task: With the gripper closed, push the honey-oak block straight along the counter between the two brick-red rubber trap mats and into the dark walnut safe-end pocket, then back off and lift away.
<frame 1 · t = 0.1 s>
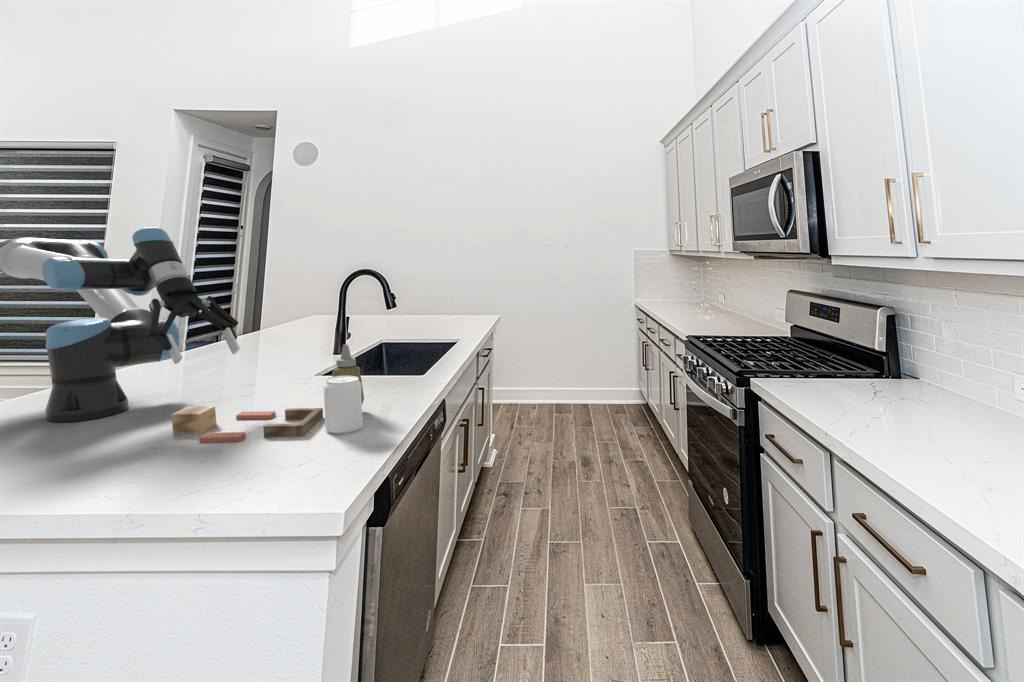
hand: (209, 356, 110), 15 cm above the countertop, tool tilted 35°, fingers open, 13 cm apart
squeeze bottle: (348, 414, 115), on the countertop
oak block: (195, 428, 103), on the countertop
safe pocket: (295, 421, 105), on the countertop
trap mats: (240, 427, 104), on the countertop
beverage can: (344, 429, 104), on the countertop
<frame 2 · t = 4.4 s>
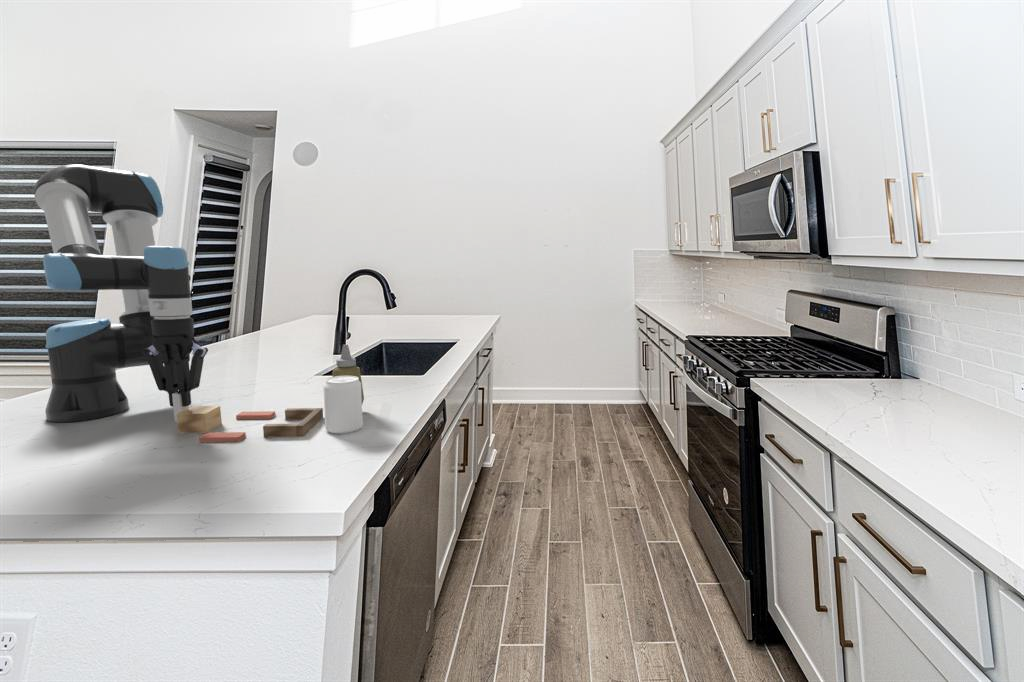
hand: (182, 419, 102), 2 cm above the countertop, tool pointing down, fingers closed
oak block: (200, 428, 103), on the countertop, touching gripper
everything else where it was.
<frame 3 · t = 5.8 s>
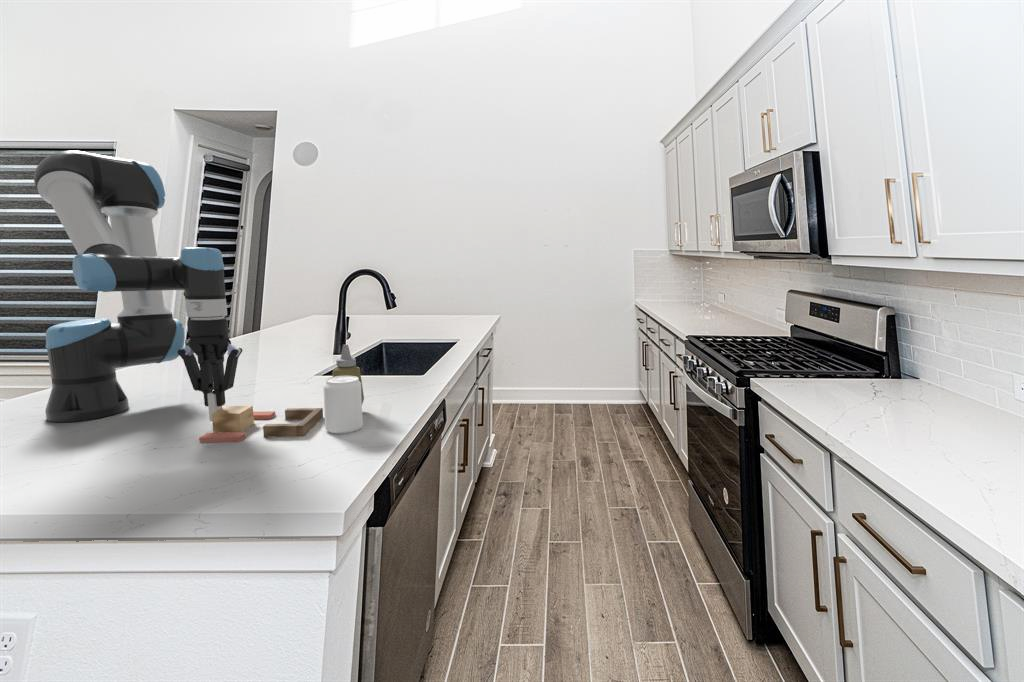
hand: (216, 419, 103), 2 cm above the countertop, tool pointing down, fingers closed
oak block: (234, 428, 104), on the countertop
everything else where it was.
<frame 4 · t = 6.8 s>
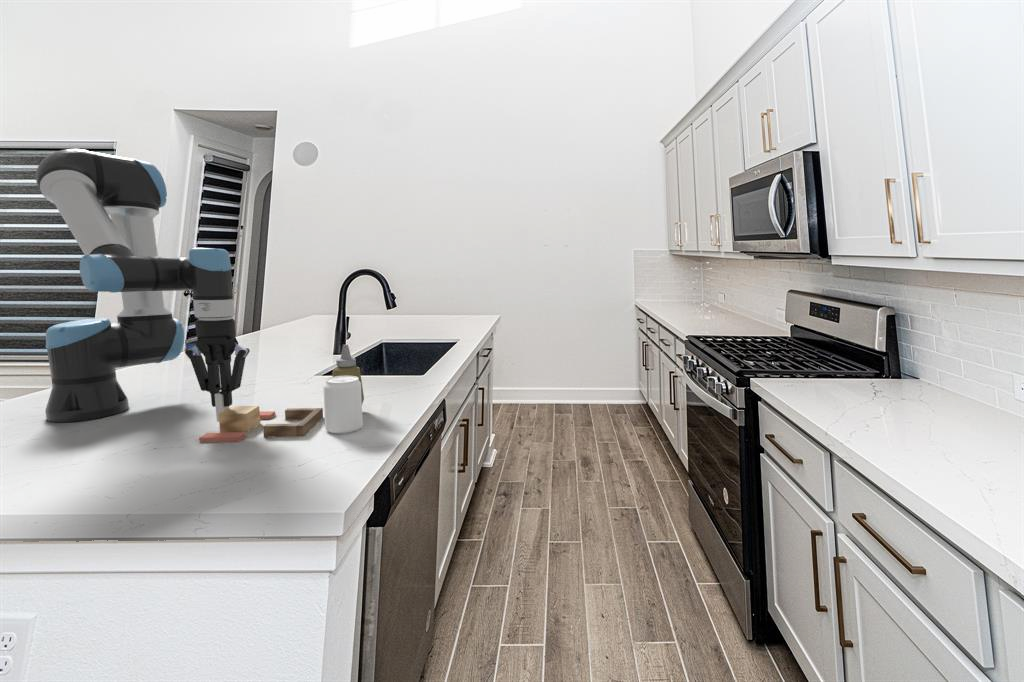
hand: (223, 419, 103), 2 cm above the countertop, tool pointing down, fingers closed
oak block: (240, 428, 104), on the countertop, touching gripper
everything else where it was.
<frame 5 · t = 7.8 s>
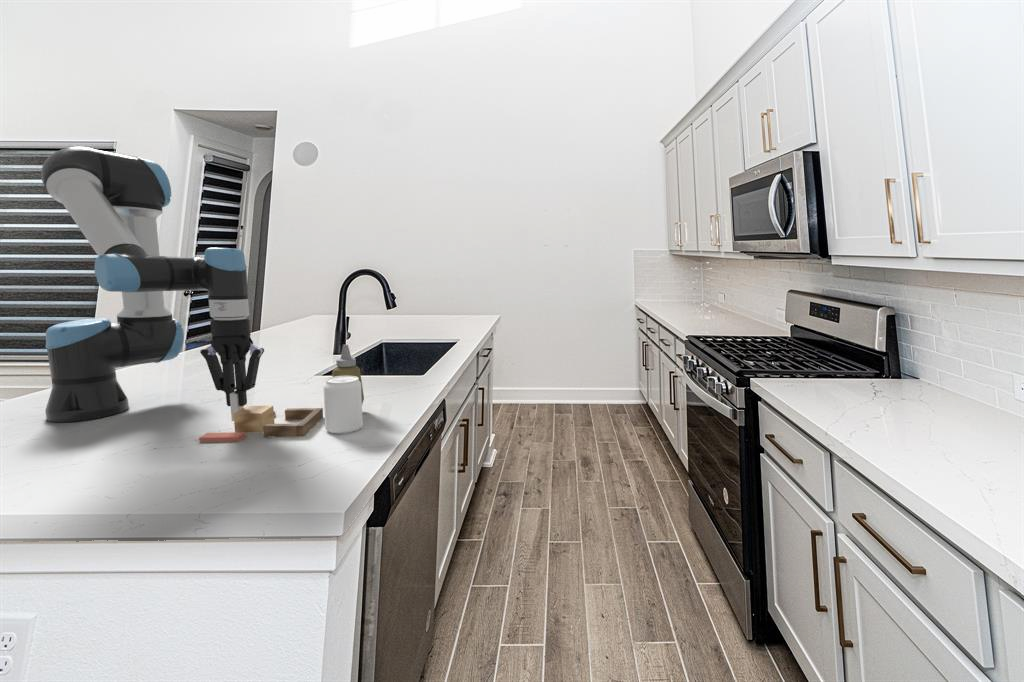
hand: (238, 419, 103), 2 cm above the countertop, tool pointing down, fingers closed
oak block: (255, 428, 104), on the countertop, touching gripper
everything else where it was.
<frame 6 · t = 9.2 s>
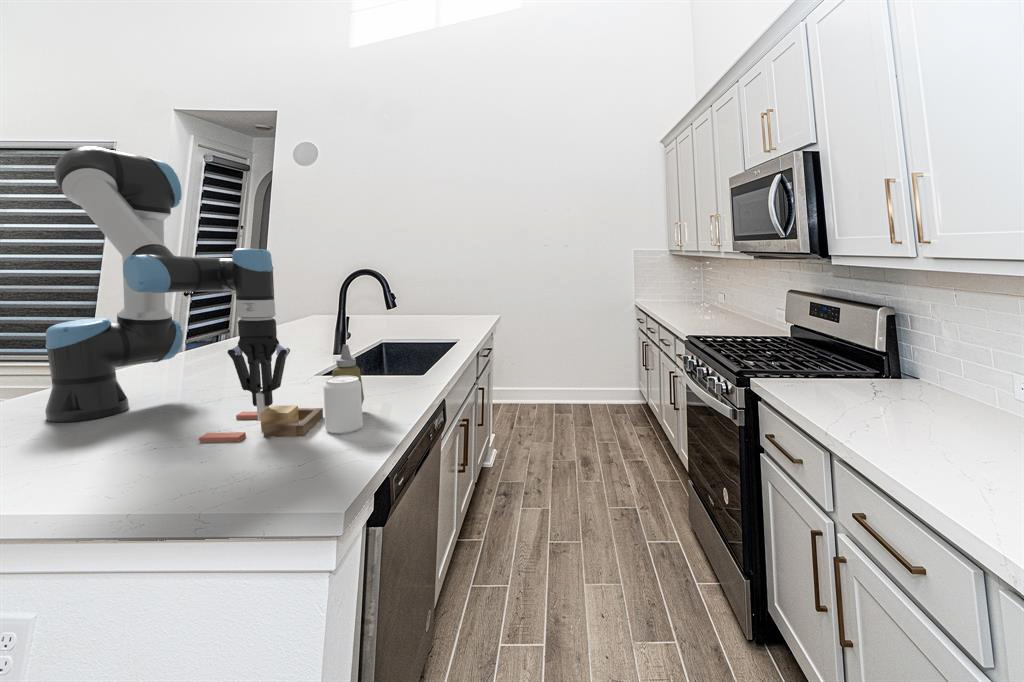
hand: (264, 418, 104), 2 cm above the countertop, tool pointing down, fingers closed
oak block: (280, 427, 104), on the countertop
everything else where it was.
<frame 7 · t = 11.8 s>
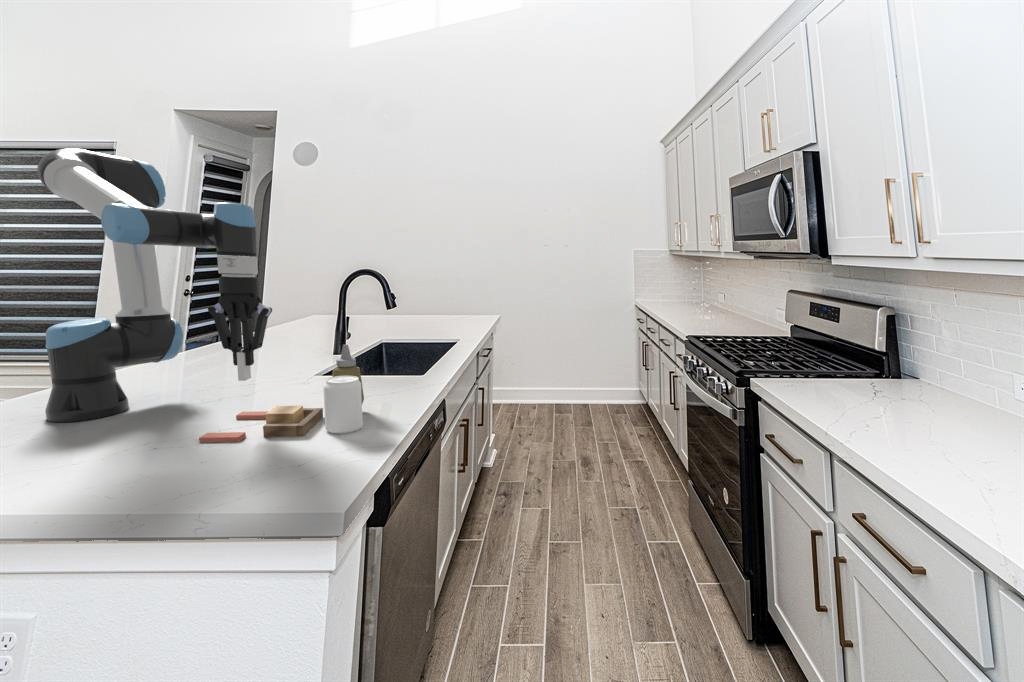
hand: (244, 379, 103), 12 cm above the countertop, tool pointing down, fingers closed
oak block: (285, 428, 104), on the countertop
everything else where it was.
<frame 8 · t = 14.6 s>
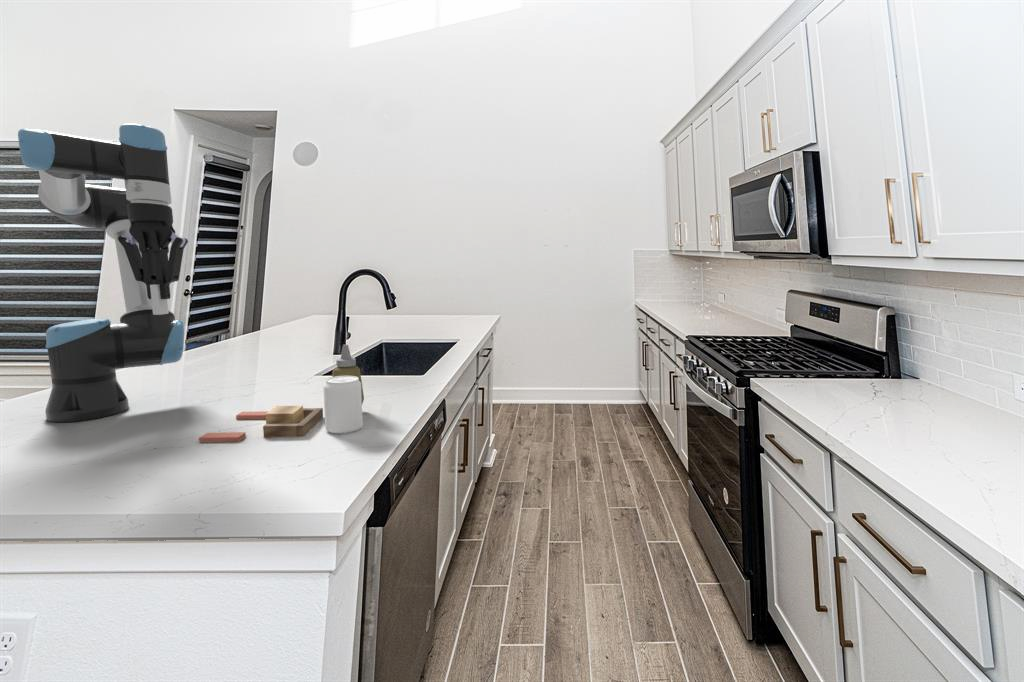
hand: (160, 314, 99), 26 cm above the countertop, tool pointing down, fingers closed
nothing on the countertop moved.
at the end: oak block 1.0 cm from the target spot, on the countertop; oak block touching countertop; oak block tilted 0° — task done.
